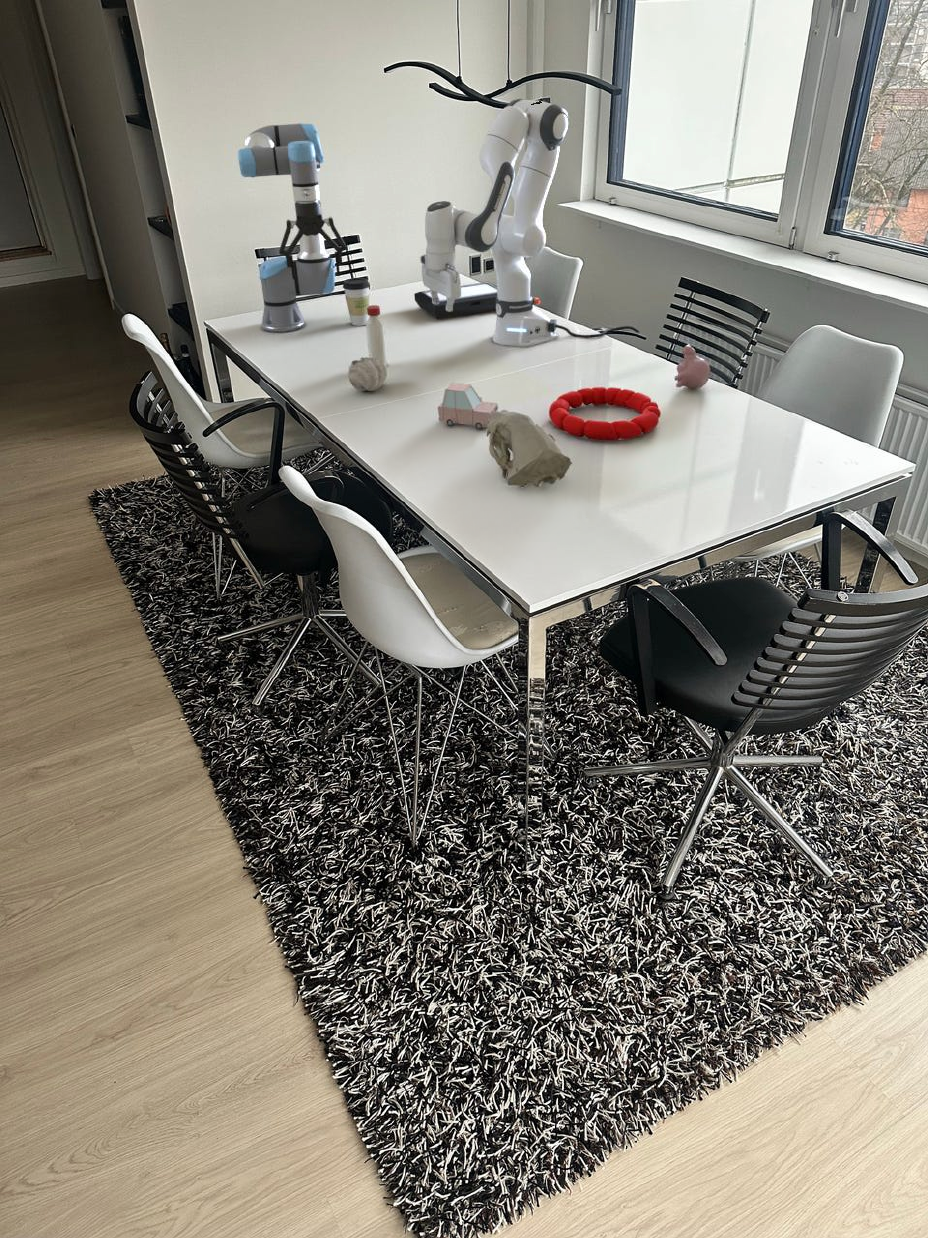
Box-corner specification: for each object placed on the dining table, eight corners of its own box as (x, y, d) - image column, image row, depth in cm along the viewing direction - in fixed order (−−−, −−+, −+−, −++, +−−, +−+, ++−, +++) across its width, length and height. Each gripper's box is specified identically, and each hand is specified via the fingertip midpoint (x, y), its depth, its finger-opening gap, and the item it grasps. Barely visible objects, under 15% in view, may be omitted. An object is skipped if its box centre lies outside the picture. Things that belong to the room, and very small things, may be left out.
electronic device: (434, 303, 323) (414, 291, 338) (435, 321, 326) (415, 307, 341) (513, 291, 333) (490, 280, 348) (512, 308, 336) (490, 296, 352)
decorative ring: (589, 435, 224) (684, 402, 234) (527, 398, 247) (617, 369, 256) (589, 461, 229) (683, 427, 238) (529, 422, 251) (617, 393, 260)
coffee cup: (372, 326, 323) (368, 283, 314) (345, 327, 323) (340, 284, 315) (374, 318, 331) (371, 276, 322) (348, 319, 331) (344, 277, 323)
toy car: (488, 432, 240) (488, 396, 234) (436, 426, 244) (434, 390, 239) (499, 419, 247) (499, 384, 241) (448, 413, 252) (447, 379, 246)
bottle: (378, 361, 291) (373, 304, 281) (390, 365, 288) (386, 307, 277) (366, 366, 287) (360, 308, 277) (378, 369, 284) (373, 311, 274)
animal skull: (496, 517, 219) (521, 479, 201) (463, 429, 225) (484, 384, 207) (557, 503, 225) (586, 465, 206) (523, 417, 231) (549, 373, 212)
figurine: (665, 387, 264) (669, 347, 257) (693, 380, 268) (698, 340, 261) (686, 396, 257) (690, 355, 250) (714, 388, 262) (720, 348, 255)
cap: (374, 311, 281) (373, 304, 279) (382, 313, 278) (382, 306, 277) (365, 314, 278) (364, 307, 277) (373, 316, 276) (373, 309, 275)
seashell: (340, 389, 270) (336, 357, 264) (385, 380, 276) (382, 348, 270) (353, 400, 262) (350, 366, 257) (399, 390, 268) (397, 357, 262)
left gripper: (264, 205, 256) (275, 282, 268) (350, 200, 259) (357, 276, 271) (264, 201, 262) (275, 276, 274) (349, 196, 265) (356, 270, 277)
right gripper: (465, 266, 264) (466, 313, 272) (435, 253, 279) (437, 298, 287) (446, 268, 262) (448, 316, 270) (417, 255, 277) (419, 301, 285)
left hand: (316, 276), depth 273 cm, fingers open, 13 cm apart
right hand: (442, 307), depth 278 cm, fingers open, 8 cm apart
